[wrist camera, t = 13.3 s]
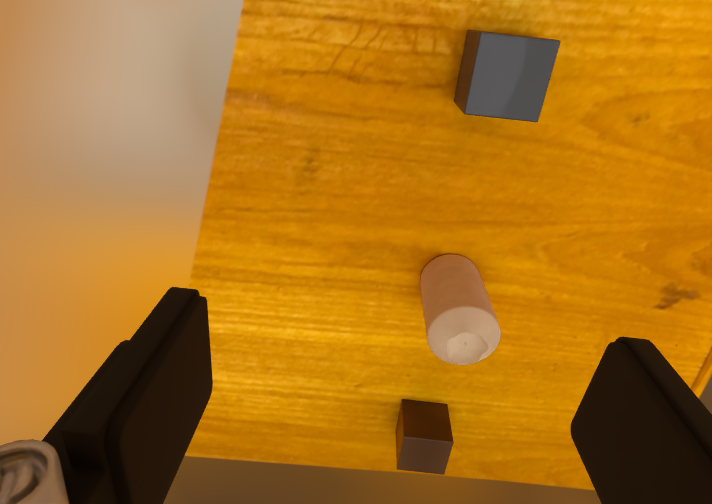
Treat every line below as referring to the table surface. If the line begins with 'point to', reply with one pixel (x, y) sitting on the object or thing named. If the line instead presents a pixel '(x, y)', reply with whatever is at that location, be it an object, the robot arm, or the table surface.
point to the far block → (423, 437)
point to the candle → (457, 311)
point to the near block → (504, 75)
